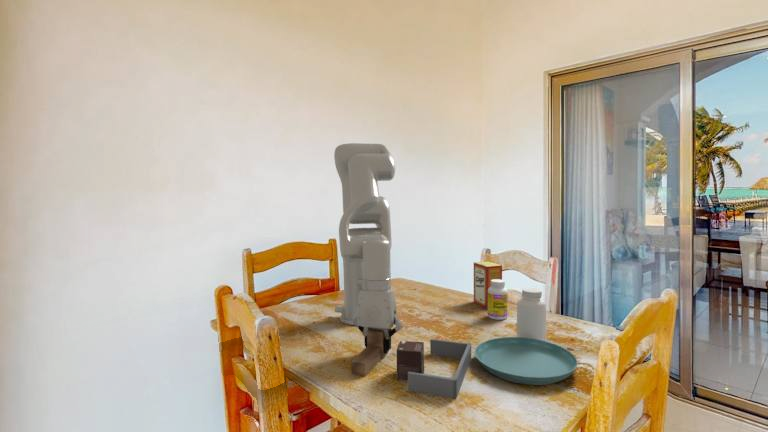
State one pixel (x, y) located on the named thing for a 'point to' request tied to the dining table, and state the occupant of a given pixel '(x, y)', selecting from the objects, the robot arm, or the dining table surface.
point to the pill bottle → (531, 315)
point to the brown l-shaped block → (369, 353)
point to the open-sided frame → (438, 383)
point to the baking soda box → (484, 280)
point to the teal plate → (526, 360)
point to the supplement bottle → (497, 300)
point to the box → (409, 359)
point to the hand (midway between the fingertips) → (377, 349)
